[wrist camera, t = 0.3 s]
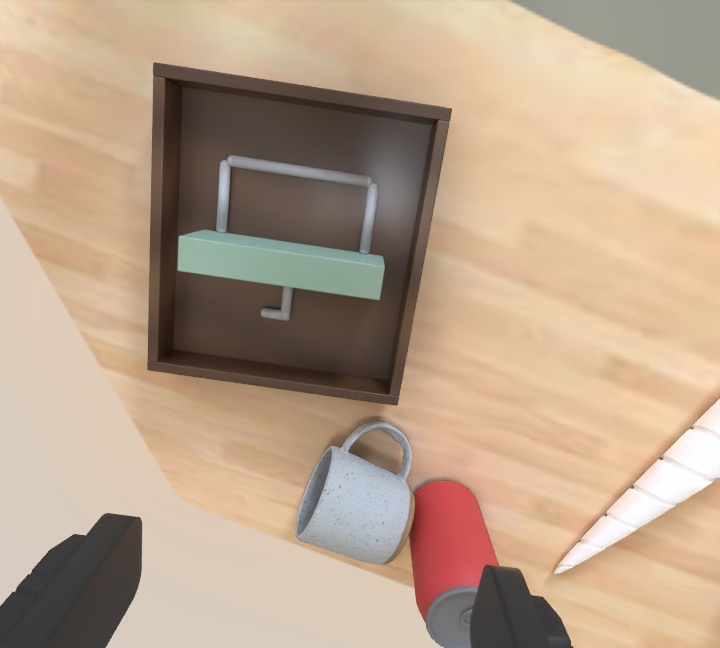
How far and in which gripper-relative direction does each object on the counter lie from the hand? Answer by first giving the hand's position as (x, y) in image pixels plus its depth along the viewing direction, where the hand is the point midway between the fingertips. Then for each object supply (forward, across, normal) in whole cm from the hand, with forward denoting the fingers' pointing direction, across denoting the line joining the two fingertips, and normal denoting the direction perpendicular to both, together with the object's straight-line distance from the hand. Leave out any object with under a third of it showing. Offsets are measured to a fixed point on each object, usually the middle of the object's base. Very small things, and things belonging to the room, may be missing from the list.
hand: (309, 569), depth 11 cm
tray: (+28, +5, -4) cm, 29 cm away
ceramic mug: (+29, -3, +16) cm, 33 cm away
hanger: (+28, +5, -2) cm, 28 cm away
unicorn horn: (+29, -29, +13) cm, 43 cm away
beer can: (+29, -11, +19) cm, 36 cm away
